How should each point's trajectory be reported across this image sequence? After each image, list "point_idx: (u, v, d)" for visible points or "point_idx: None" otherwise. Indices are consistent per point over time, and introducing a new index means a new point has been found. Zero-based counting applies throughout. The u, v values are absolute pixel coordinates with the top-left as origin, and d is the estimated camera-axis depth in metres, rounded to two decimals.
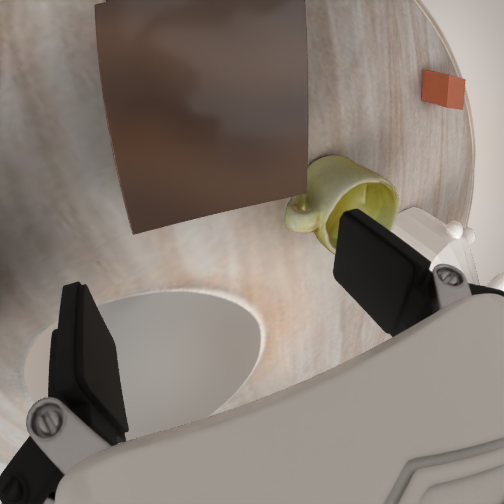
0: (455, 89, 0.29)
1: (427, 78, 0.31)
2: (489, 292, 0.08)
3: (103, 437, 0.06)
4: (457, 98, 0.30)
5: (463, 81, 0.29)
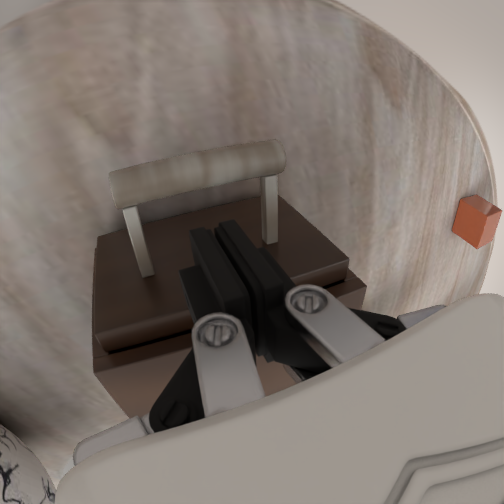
0: (489, 227, 0.28)
1: (463, 211, 0.30)
2: (375, 321, 0.07)
3: None
4: (489, 234, 0.29)
5: (500, 213, 0.28)
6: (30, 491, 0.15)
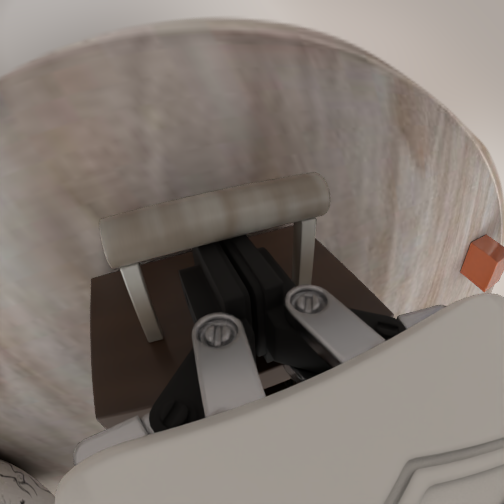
0: (498, 270, 0.28)
1: (473, 254, 0.30)
2: (375, 321, 0.07)
3: None
4: (497, 276, 0.29)
5: None
6: None
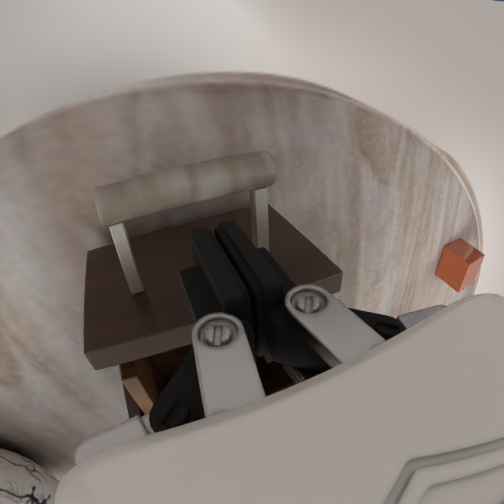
0: (471, 272, 0.32)
1: (446, 257, 0.34)
2: (374, 321, 0.07)
3: None
4: (471, 277, 0.33)
5: (482, 258, 0.32)
6: None
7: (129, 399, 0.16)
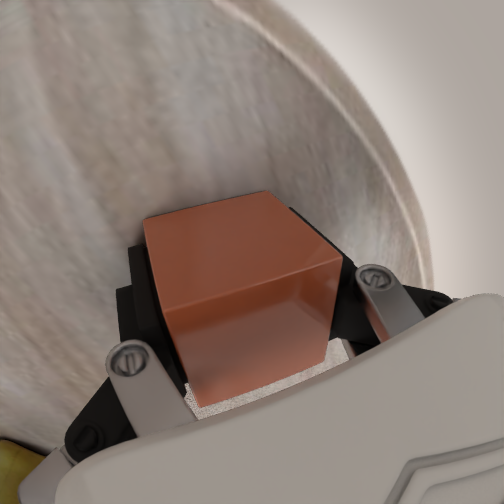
0: (243, 340, 0.08)
1: None
2: (428, 295, 0.08)
3: None
4: (271, 358, 0.09)
5: (323, 274, 0.08)
6: None
7: None
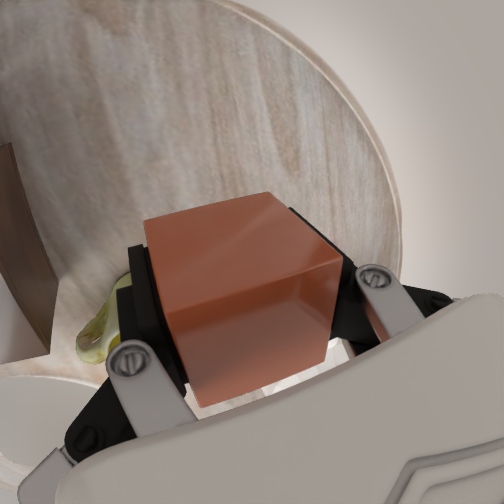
0: (244, 341, 0.08)
1: None
2: (428, 296, 0.08)
3: None
4: (272, 358, 0.09)
5: (324, 275, 0.08)
6: None
7: None
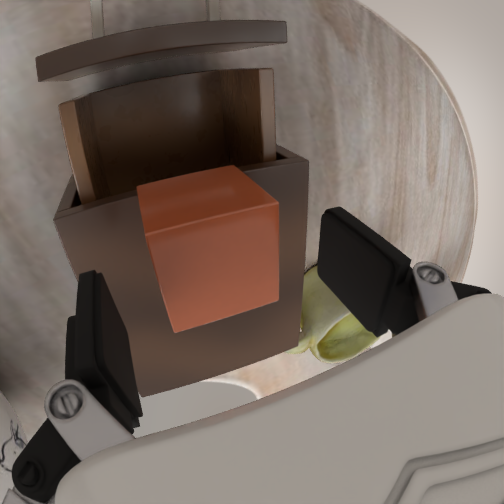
0: (205, 266, 0.10)
1: None
2: (473, 291, 0.08)
3: (121, 423, 0.06)
4: (230, 287, 0.11)
5: (264, 215, 0.10)
6: None
7: (67, 192, 0.14)
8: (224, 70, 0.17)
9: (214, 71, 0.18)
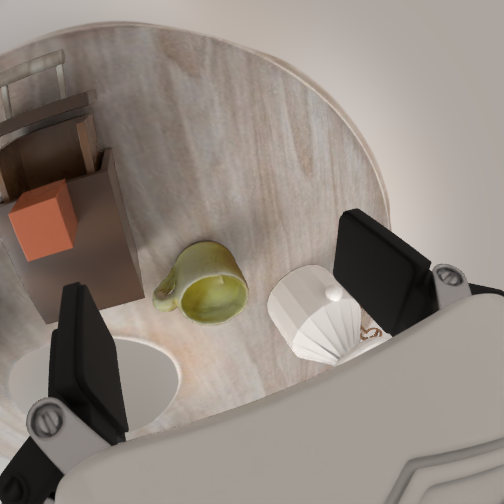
0: (32, 227, 0.19)
1: None
2: (489, 292, 0.08)
3: (103, 437, 0.06)
4: (45, 238, 0.20)
5: (50, 204, 0.19)
6: None
7: None
8: None
9: (82, 116, 0.27)
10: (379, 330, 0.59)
